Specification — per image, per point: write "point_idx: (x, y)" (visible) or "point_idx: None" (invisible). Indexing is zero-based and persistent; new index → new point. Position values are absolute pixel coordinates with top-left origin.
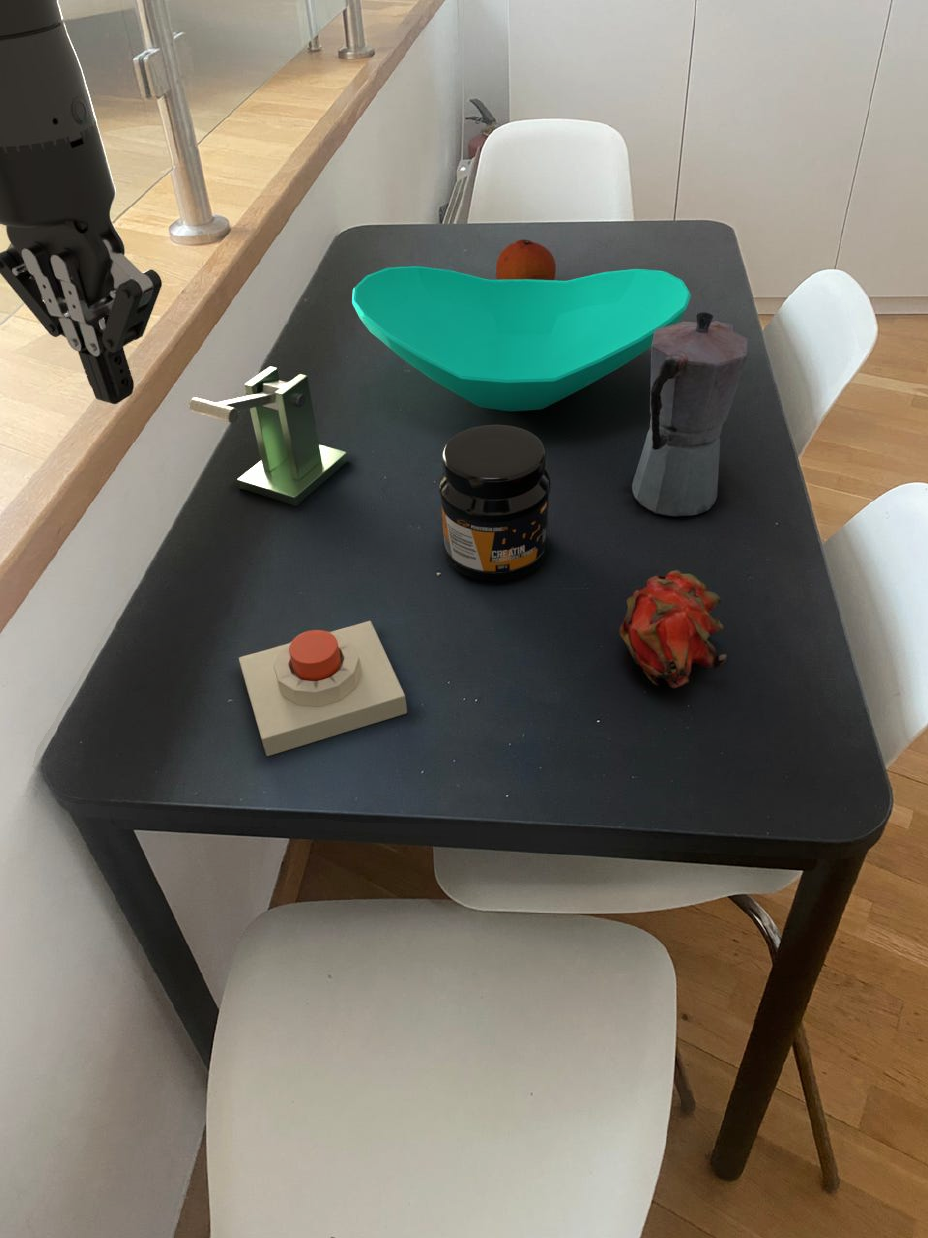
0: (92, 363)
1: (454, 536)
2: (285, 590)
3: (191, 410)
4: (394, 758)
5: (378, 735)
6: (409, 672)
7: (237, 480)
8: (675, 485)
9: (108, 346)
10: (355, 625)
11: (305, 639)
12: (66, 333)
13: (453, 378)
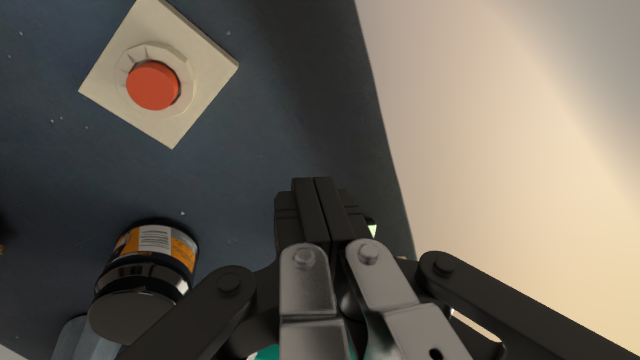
0: (320, 226)
1: (160, 241)
2: (273, 153)
3: (403, 256)
4: (54, 36)
5: (87, 53)
6: (122, 123)
7: (375, 224)
8: (70, 339)
9: (228, 276)
10: (178, 139)
11: (164, 93)
12: (391, 268)
13: (261, 356)
